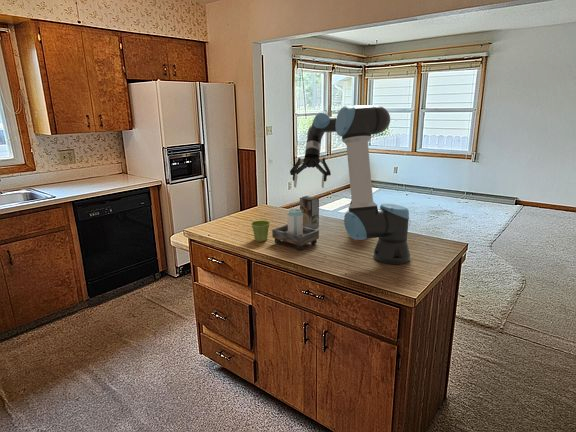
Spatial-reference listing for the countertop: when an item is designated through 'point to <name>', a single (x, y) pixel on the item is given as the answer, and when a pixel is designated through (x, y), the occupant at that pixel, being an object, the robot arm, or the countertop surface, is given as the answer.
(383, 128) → the robot arm
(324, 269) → the countertop surface
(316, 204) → the coffee box
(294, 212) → the can
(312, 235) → the grey rectangular tray
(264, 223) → the plant pot
